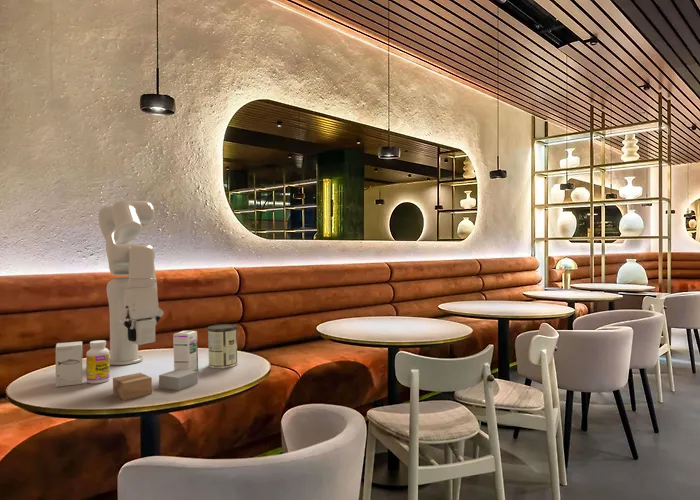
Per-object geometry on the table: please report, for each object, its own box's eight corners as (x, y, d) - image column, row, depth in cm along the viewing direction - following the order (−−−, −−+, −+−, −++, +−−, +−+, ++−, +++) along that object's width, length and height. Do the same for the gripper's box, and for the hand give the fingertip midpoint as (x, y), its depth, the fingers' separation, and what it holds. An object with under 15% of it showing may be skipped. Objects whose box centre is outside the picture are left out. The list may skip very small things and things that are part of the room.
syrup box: (189, 377, 160) (189, 333, 160) (173, 376, 162) (172, 333, 162) (198, 373, 166) (198, 330, 166) (182, 372, 167) (182, 330, 167)
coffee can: (216, 361, 183) (215, 323, 183) (241, 362, 181) (241, 324, 181) (203, 368, 173) (202, 328, 173) (230, 369, 171) (229, 329, 171)
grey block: (159, 388, 150) (159, 375, 150) (178, 381, 157) (178, 369, 157) (178, 391, 147) (178, 377, 147) (197, 384, 154) (197, 371, 154)
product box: (127, 342, 157) (127, 319, 157) (144, 339, 162) (144, 317, 162) (138, 345, 154) (138, 322, 153) (156, 341, 159) (156, 319, 158)
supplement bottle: (94, 385, 153) (93, 344, 152) (82, 382, 156) (81, 342, 156) (114, 380, 158) (113, 340, 158) (102, 377, 162) (101, 338, 162)
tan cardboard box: (113, 394, 143) (112, 378, 143) (140, 388, 149) (140, 372, 149) (123, 400, 138) (123, 383, 138) (151, 394, 143) (151, 377, 143)
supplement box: (55, 387, 151) (54, 346, 150) (56, 381, 157) (56, 342, 157) (82, 384, 154) (81, 344, 154) (83, 378, 161) (82, 340, 160)
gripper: (158, 280, 166) (158, 332, 167) (109, 285, 152) (109, 342, 153) (171, 282, 162) (172, 335, 163) (123, 286, 148) (123, 345, 149)
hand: (141, 338), depth 158 cm, fingers closed on product box, 6 cm apart
